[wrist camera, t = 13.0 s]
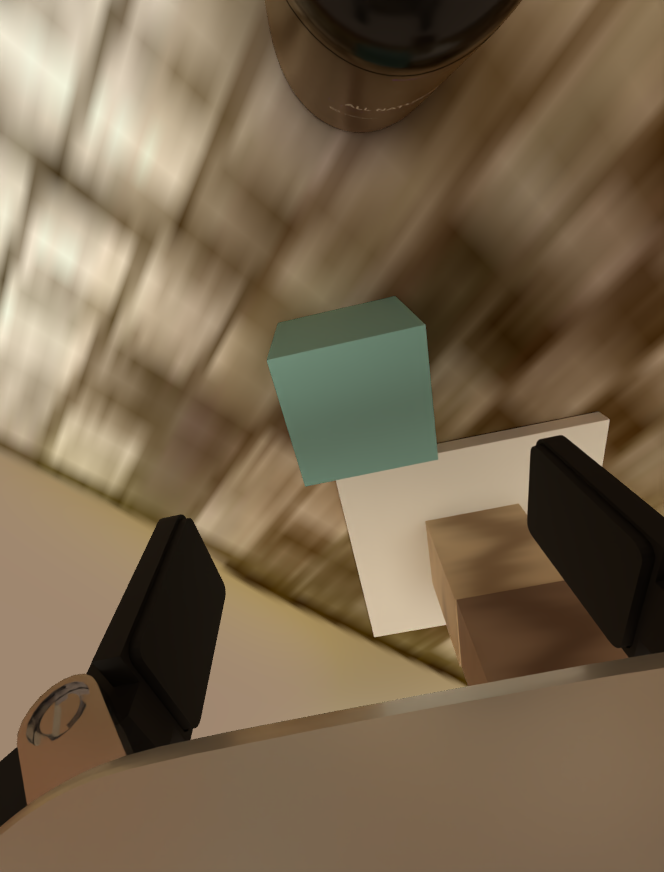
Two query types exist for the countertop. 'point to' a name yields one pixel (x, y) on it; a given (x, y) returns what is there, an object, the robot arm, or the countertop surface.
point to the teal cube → (355, 390)
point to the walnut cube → (528, 633)
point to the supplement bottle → (376, 52)
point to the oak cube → (483, 558)
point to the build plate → (440, 511)
